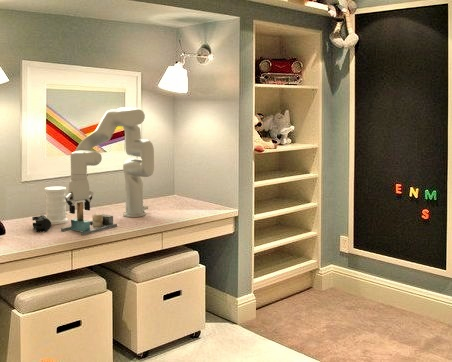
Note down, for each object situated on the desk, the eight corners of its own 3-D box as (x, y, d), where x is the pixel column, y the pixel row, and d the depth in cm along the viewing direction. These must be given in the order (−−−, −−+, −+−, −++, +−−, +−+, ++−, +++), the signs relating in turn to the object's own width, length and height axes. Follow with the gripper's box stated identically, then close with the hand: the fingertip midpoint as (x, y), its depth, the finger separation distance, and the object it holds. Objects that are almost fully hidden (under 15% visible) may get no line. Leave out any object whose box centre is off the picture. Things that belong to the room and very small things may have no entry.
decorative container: (72, 220, 299) (71, 187, 296) (57, 225, 288) (56, 190, 286) (55, 218, 304) (54, 185, 301) (40, 222, 293) (38, 188, 291)
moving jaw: (75, 228, 281) (75, 200, 279) (90, 231, 276) (89, 203, 274) (71, 229, 279) (70, 201, 277) (85, 232, 273) (84, 204, 271)
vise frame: (95, 222, 296) (95, 212, 295) (117, 226, 288) (117, 216, 287) (61, 230, 277) (60, 220, 276) (83, 235, 269) (83, 225, 268)
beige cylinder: (97, 224, 290) (97, 213, 289) (104, 226, 288) (104, 214, 287) (90, 226, 286) (90, 215, 285) (97, 228, 283) (97, 216, 283)
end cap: (51, 231, 276) (51, 217, 275) (36, 233, 272) (36, 219, 271) (47, 227, 285) (46, 214, 284) (32, 228, 281) (32, 215, 280)
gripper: (86, 174, 282) (87, 208, 285) (59, 178, 268) (60, 213, 271) (97, 175, 278) (98, 209, 281) (70, 179, 264) (71, 215, 267)
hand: (79, 211), depth 276 cm, fingers open, 9 cm apart
